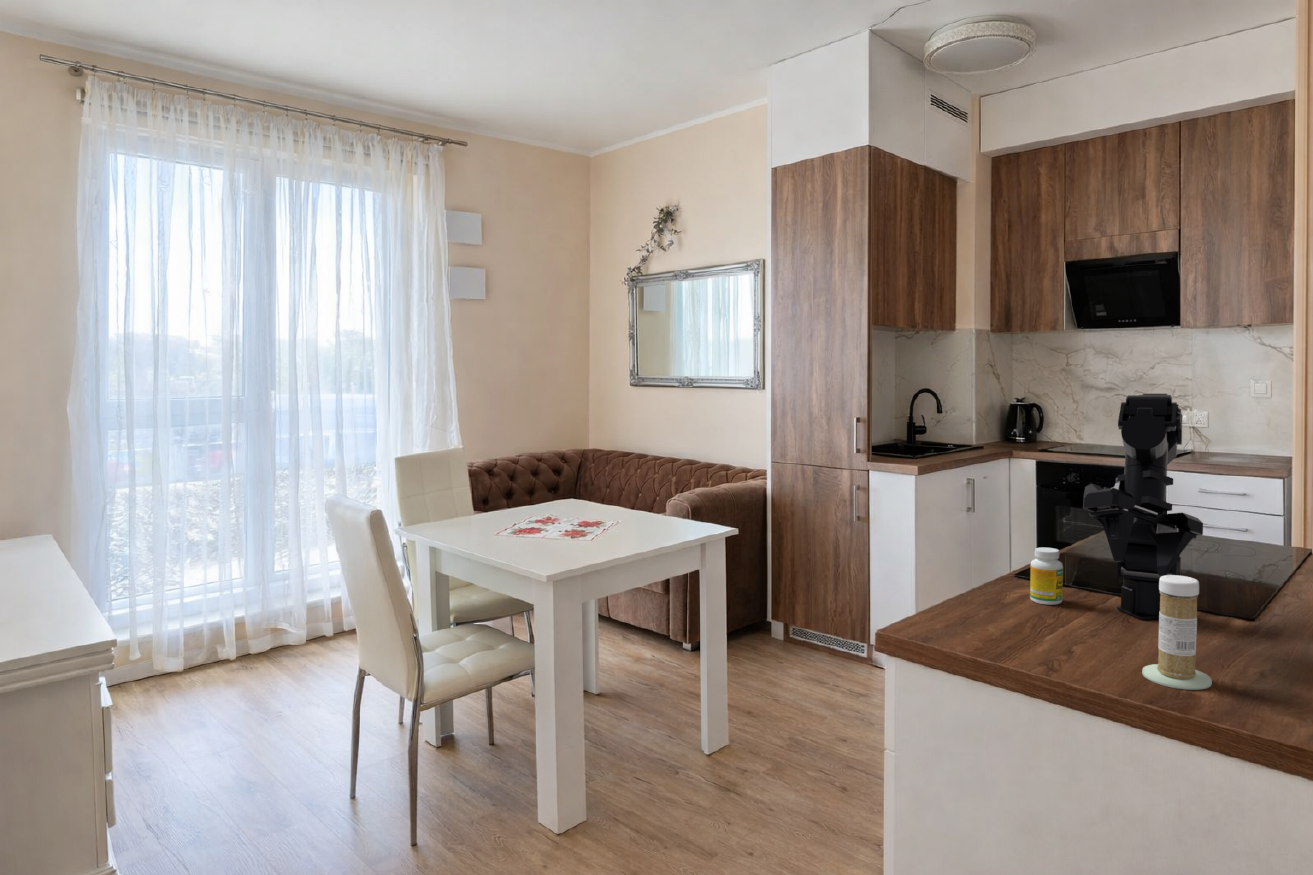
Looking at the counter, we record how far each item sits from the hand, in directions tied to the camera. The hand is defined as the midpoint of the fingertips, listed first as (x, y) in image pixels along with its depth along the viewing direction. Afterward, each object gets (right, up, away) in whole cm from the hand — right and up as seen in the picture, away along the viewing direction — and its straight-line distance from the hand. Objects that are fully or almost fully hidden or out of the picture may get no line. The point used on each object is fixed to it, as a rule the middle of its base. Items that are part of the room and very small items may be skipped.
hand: (1140, 568), depth 122 cm
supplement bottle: (-2, -10, +25) cm, 28 cm away
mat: (-2, -13, -11) cm, 18 cm away
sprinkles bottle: (-2, -13, -11) cm, 17 cm away
